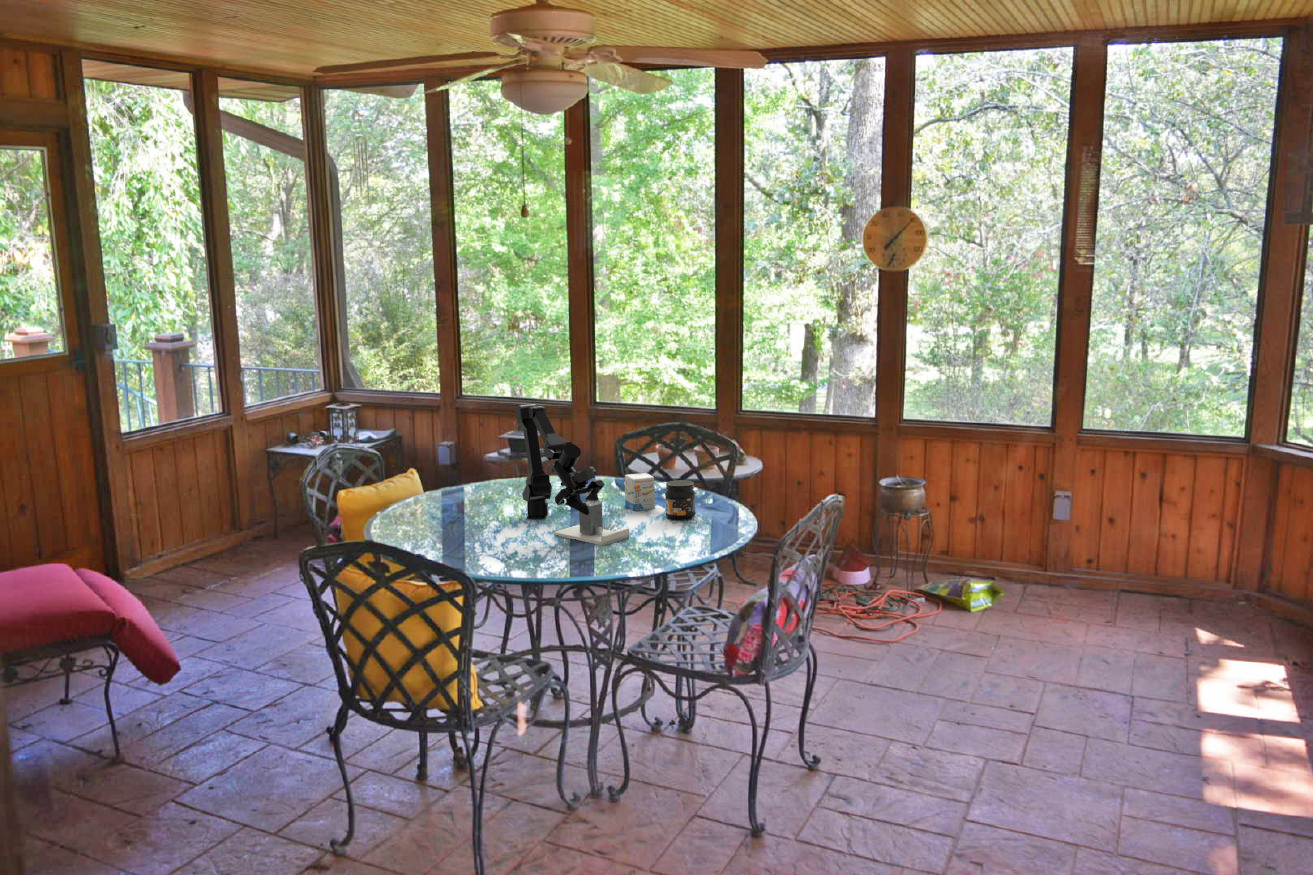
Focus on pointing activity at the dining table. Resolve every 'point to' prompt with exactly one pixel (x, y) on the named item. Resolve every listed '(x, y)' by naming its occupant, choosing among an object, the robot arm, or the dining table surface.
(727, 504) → the dining table surface
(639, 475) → the ink box
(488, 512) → the dining table surface
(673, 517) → the supplement container
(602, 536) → the tray
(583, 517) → the block
